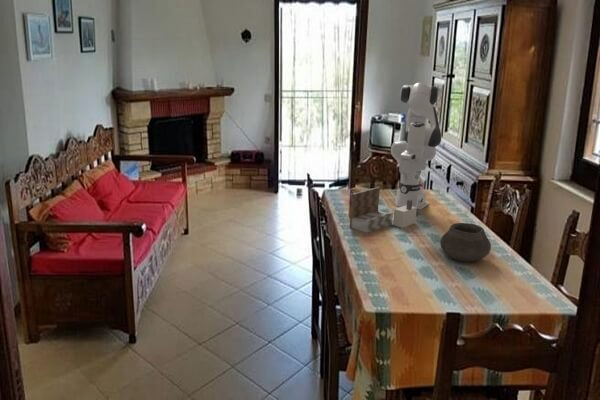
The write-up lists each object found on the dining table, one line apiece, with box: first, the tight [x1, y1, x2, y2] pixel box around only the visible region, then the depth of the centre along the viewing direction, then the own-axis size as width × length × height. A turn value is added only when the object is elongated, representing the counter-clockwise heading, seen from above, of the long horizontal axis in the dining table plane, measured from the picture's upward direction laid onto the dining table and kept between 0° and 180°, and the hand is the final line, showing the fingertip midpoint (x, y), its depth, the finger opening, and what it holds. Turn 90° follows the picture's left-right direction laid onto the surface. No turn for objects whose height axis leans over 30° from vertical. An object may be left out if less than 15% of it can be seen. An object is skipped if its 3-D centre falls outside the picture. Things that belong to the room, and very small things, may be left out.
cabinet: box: [392, 199, 418, 229], centre depth 276 cm, size 12×6×14 cm, turn 135°
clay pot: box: [439, 222, 492, 263], centre depth 233 cm, size 22×21×15 cm
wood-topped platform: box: [349, 186, 394, 234], centre depth 271 cm, size 22×12×18 cm, turn 135°
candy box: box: [348, 187, 364, 216], centre depth 286 cm, size 9×4×15 cm, turn 39°
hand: (411, 180), depth 270 cm, fingers open, 8 cm apart
